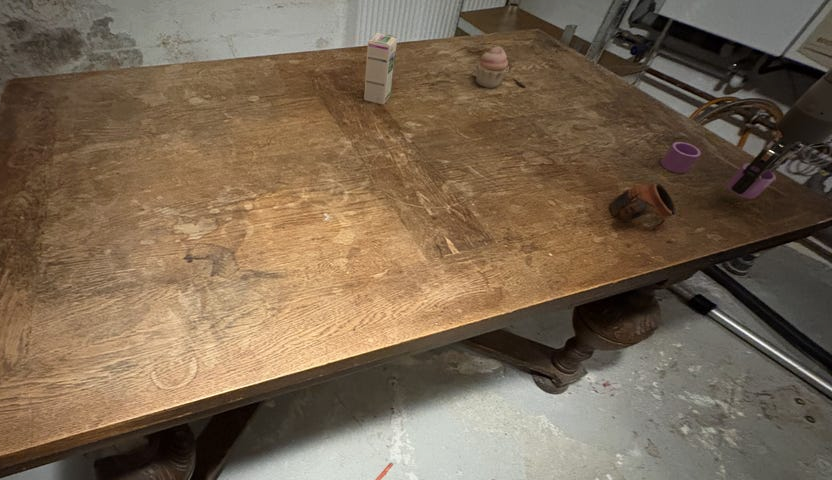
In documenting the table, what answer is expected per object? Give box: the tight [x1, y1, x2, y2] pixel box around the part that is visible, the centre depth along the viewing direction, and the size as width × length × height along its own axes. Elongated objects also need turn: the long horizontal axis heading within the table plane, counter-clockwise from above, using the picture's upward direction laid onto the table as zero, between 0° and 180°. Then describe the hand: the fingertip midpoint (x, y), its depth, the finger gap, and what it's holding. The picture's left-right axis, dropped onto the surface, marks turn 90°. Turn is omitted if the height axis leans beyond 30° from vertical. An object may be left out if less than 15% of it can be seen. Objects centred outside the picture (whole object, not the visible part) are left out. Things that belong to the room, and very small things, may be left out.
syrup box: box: [363, 32, 398, 106], centre depth 102 cm, size 6×6×14 cm
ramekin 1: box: [659, 141, 702, 174], centre depth 94 cm, size 6×6×4 cm
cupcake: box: [475, 45, 510, 89], centre depth 113 cm, size 9×9×10 cm
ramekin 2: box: [725, 162, 777, 200], centre depth 83 cm, size 6×6×4 cm
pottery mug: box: [610, 181, 677, 230], centre depth 80 cm, size 12×9×8 cm
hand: (744, 186), depth 84 cm, fingers closed on ramekin 2, 6 cm apart
